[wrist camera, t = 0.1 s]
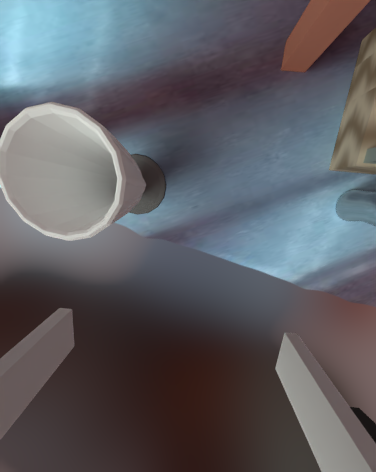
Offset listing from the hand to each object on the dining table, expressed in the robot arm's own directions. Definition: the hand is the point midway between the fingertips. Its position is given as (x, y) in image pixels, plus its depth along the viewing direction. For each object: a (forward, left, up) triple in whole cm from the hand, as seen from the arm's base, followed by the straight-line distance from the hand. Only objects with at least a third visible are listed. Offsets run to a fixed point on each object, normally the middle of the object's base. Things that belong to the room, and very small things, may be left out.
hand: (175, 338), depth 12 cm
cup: (-9, -11, -28) cm, 32 cm away
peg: (-32, +15, -28) cm, 45 cm away
